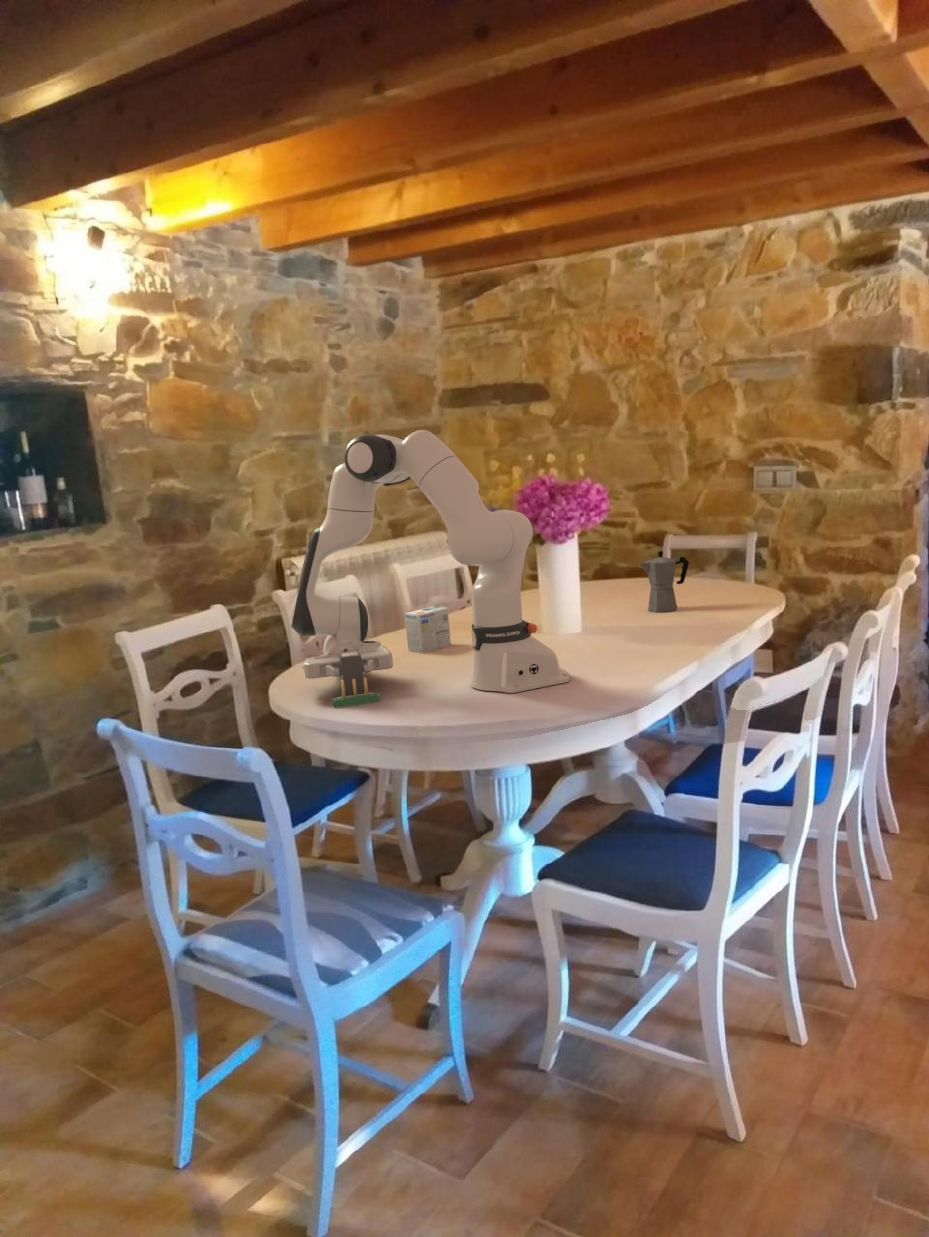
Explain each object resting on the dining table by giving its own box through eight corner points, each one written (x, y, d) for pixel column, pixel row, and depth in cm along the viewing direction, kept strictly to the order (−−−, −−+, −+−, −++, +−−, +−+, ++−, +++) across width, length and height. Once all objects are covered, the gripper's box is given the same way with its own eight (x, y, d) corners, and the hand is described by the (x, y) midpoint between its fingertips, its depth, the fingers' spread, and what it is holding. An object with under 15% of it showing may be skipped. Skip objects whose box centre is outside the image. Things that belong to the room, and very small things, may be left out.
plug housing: (363, 694, 212) (358, 650, 210) (365, 699, 208) (360, 654, 206) (343, 697, 211) (338, 653, 209) (345, 701, 207) (340, 657, 205)
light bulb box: (435, 643, 262) (432, 605, 260) (452, 645, 257) (449, 607, 255) (406, 651, 254) (403, 612, 252) (423, 653, 250) (419, 614, 247)
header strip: (377, 699, 208) (375, 675, 207) (379, 701, 206) (376, 677, 205) (333, 705, 206) (330, 681, 205) (333, 707, 204) (331, 683, 203)
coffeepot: (647, 614, 278) (645, 554, 275) (636, 609, 287) (634, 551, 284) (696, 609, 280) (694, 549, 277) (683, 604, 290) (681, 546, 286)
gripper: (299, 650, 218) (303, 663, 205) (386, 640, 222) (395, 651, 209) (302, 676, 219) (306, 690, 206) (388, 665, 223) (397, 678, 210)
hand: (351, 671), depth 207 cm, fingers open, 6 cm apart
